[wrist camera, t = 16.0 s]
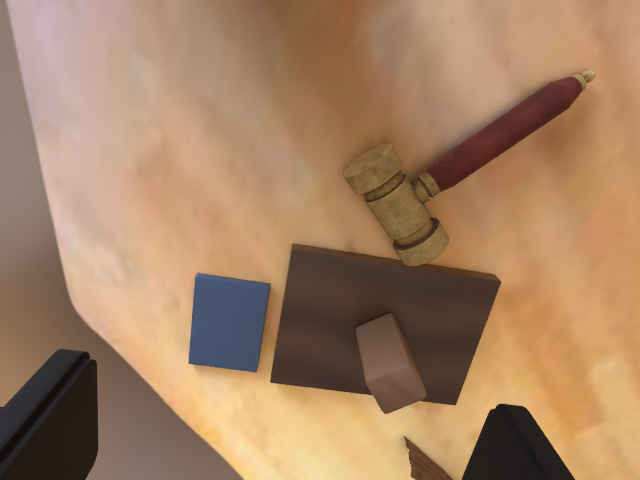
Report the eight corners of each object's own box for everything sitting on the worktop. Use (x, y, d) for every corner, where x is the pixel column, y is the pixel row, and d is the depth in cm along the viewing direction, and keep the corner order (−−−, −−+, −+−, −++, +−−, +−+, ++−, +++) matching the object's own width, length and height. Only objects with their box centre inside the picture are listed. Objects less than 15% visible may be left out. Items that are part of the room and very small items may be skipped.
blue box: (197, 273, 39) (195, 276, 38) (270, 283, 40) (269, 287, 39) (190, 359, 43) (188, 364, 42) (257, 367, 43) (256, 372, 43)
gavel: (591, 7, 29) (637, 126, 32) (551, 19, 33) (595, 123, 36) (346, 179, 32) (412, 275, 35) (339, 170, 36) (397, 255, 39)
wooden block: (370, 356, 41) (384, 417, 34) (353, 326, 40) (364, 382, 33) (407, 341, 41) (429, 399, 33) (391, 310, 40) (410, 363, 32)
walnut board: (292, 243, 38) (291, 249, 37) (495, 274, 40) (501, 281, 39) (271, 373, 44) (270, 382, 42) (451, 395, 45) (455, 405, 44)
